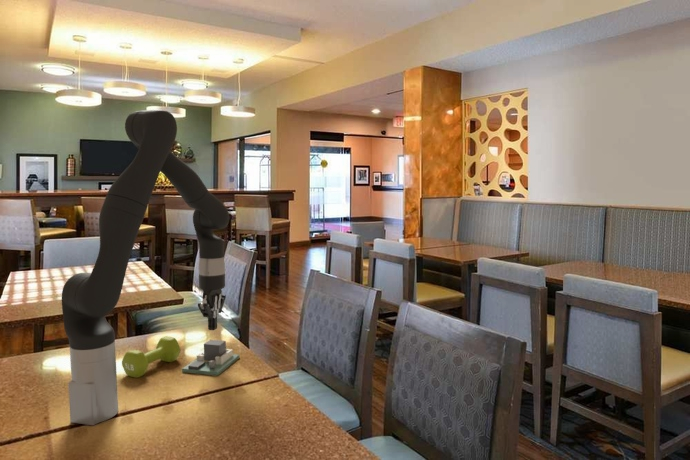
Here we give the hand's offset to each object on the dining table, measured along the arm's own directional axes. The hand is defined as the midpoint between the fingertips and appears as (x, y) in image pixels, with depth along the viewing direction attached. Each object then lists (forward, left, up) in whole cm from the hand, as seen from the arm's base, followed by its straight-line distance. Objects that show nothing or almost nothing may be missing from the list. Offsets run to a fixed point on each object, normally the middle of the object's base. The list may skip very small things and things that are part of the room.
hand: (212, 329), depth 144 cm
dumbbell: (-9, +15, -10) cm, 20 cm away
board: (-3, -1, -10) cm, 10 cm away
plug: (-1, -1, -9) cm, 9 cm away
